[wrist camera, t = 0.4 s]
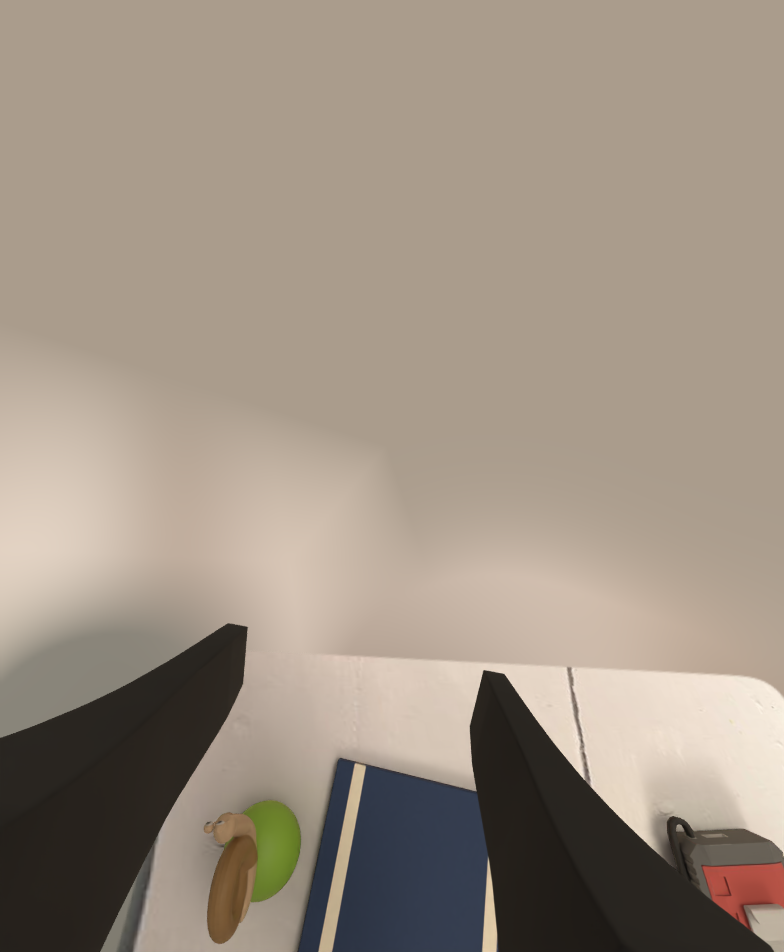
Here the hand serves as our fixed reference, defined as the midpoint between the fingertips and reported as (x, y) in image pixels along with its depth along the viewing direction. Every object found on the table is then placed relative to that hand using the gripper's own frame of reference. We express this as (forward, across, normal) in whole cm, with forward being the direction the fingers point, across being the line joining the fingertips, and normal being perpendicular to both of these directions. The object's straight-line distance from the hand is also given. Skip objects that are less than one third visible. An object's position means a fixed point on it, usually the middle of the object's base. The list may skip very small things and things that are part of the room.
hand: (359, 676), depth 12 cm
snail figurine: (+14, +5, +27) cm, 31 cm away
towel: (+12, -6, +28) cm, 31 cm away
